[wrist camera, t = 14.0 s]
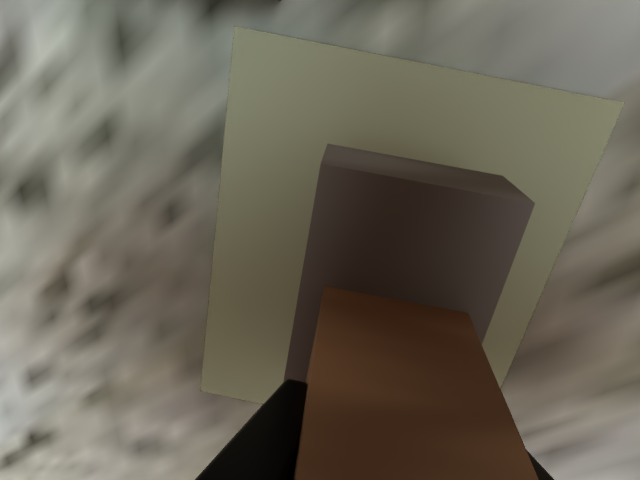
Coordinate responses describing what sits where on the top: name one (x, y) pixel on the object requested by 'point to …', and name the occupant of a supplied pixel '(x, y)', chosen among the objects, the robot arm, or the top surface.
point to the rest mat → (382, 137)
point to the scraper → (404, 322)
